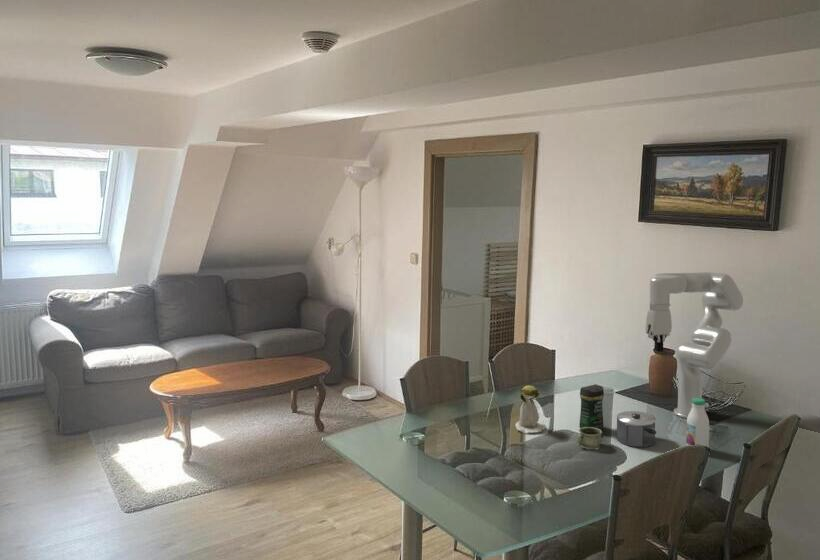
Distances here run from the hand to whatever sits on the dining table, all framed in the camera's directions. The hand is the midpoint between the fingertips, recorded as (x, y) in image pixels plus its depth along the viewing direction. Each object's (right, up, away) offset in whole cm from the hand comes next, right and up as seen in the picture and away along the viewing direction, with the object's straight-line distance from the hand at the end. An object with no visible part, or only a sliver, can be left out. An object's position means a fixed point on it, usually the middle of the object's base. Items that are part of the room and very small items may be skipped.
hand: (658, 350), depth 257 cm
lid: (-13, -26, -11) cm, 31 cm away
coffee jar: (-27, -33, +3) cm, 43 cm away
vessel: (-32, -36, -14) cm, 50 cm away
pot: (-13, -34, -10) cm, 38 cm away
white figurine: (-52, -34, +6) cm, 62 cm away
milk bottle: (+6, -35, -22) cm, 42 cm away
